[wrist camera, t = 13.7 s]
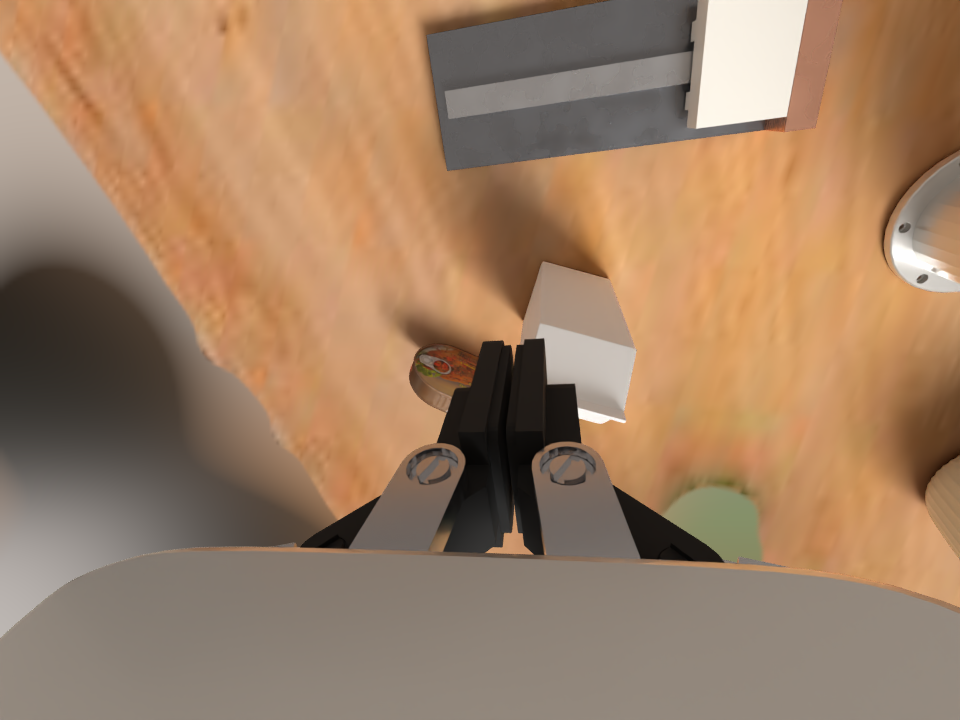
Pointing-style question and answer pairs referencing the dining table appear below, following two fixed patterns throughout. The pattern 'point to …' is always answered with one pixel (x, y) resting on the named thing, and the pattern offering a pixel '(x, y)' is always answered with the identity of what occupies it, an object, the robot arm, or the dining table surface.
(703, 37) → the slider
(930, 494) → the canister
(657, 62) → the rail
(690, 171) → the dining table surface
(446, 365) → the tin
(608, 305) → the milk carton
